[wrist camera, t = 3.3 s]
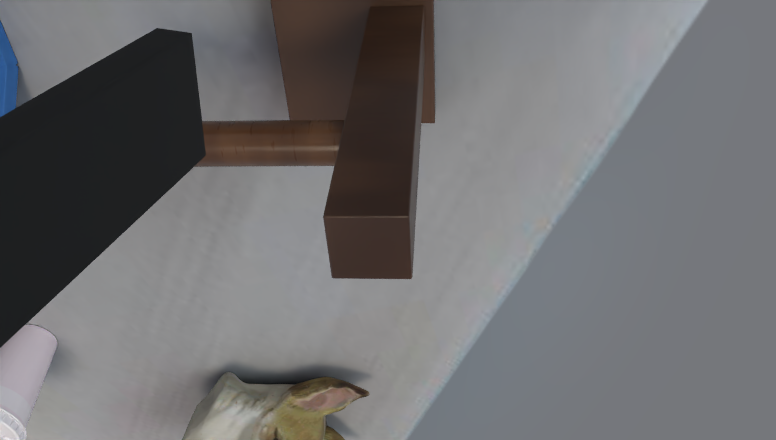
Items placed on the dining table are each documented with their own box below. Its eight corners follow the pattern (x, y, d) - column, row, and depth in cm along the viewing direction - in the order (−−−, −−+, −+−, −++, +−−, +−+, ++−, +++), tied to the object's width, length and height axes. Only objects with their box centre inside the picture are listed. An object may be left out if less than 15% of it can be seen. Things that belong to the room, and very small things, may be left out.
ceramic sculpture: (172, 430, 53) (368, 450, 54) (197, 341, 59) (371, 361, 61) (175, 500, 59) (349, 516, 61) (197, 413, 66) (354, 429, 68)
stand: (191, 113, 45) (57, 352, 30) (140, -80, 38) (-74, 105, 22) (435, 110, 44) (427, 359, 28) (432, -91, 36) (421, 99, 21)
